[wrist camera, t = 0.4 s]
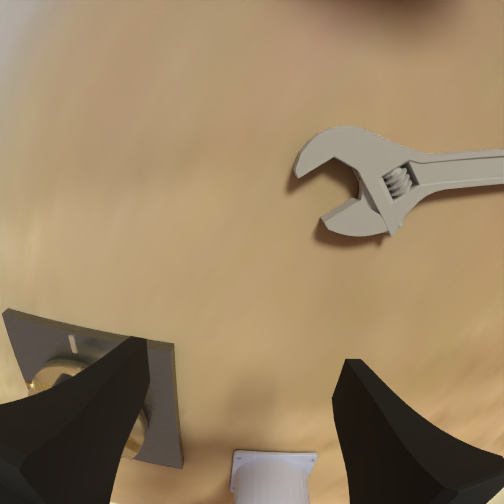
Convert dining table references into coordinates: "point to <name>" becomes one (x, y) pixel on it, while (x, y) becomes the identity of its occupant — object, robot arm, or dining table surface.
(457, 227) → the dining table surface
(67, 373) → the rotary dial knob
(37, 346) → the base plate
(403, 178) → the adjustable wrench
